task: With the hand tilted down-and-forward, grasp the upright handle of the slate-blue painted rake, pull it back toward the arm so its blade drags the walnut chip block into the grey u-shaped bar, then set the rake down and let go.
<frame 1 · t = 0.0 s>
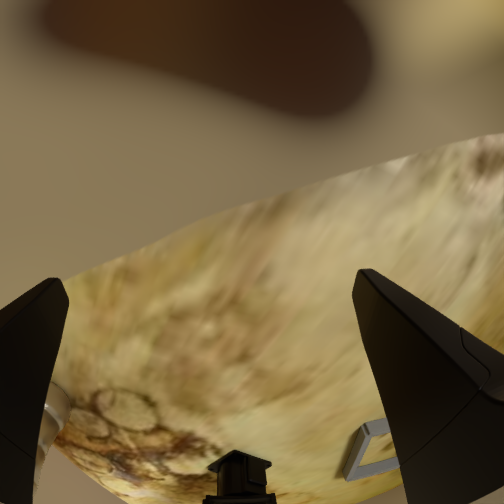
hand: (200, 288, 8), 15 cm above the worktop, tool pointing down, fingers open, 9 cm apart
plastic bottle: (54, 391, 29), on the worktop
grey u-shaped bar: (381, 444, 34), on the worktop
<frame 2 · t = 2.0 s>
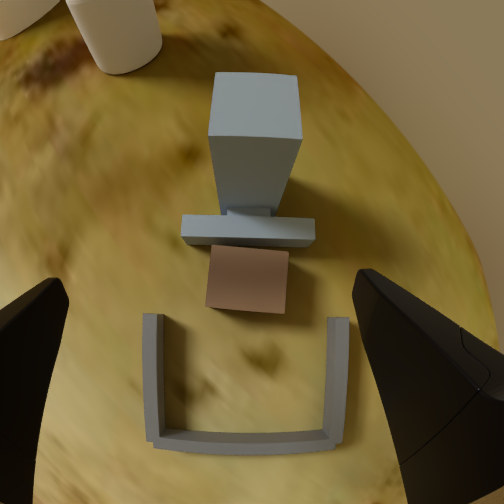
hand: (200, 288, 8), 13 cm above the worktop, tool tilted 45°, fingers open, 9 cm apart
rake: (248, 192, 23), on the worktop
pill bottle: (130, 54, 26), on the worktop
canister: (29, 14, 30), on the worktop
grey u-shaped bar: (245, 384, 20), on the worktop
chip block: (246, 283, 22), on the worktop
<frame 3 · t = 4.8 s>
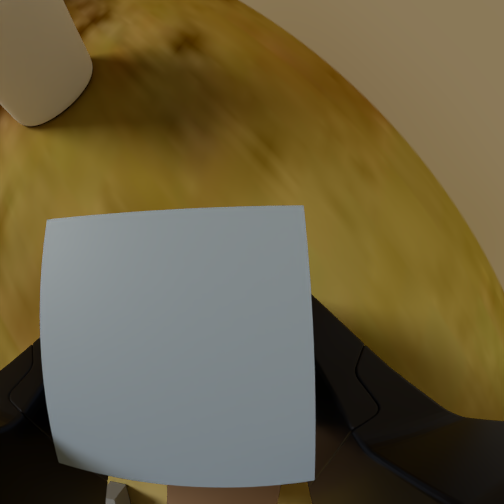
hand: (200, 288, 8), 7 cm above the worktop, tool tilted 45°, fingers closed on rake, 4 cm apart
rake: (218, 330, 14), on the worktop, touching gripper
pill bottle: (54, 92, 18), on the worktop
chip block: (226, 456, 13), on the worktop
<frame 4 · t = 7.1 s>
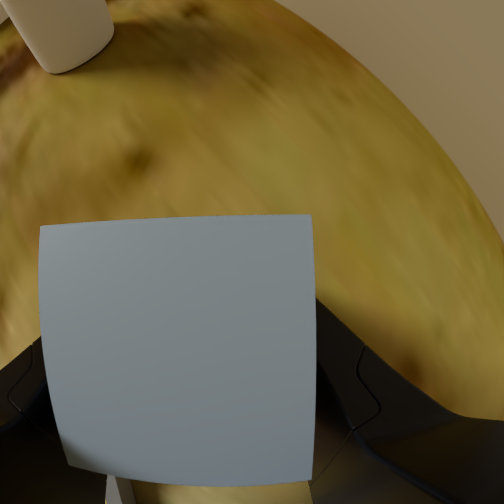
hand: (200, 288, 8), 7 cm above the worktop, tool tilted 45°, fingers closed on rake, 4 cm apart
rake: (215, 307, 15), point 1 cm above the worktop, tilted 6°, touching chip block, gripper
pill bottle: (78, 49, 20), on the worktop
grey u-shaped bar: (228, 465, 13), on the worktop
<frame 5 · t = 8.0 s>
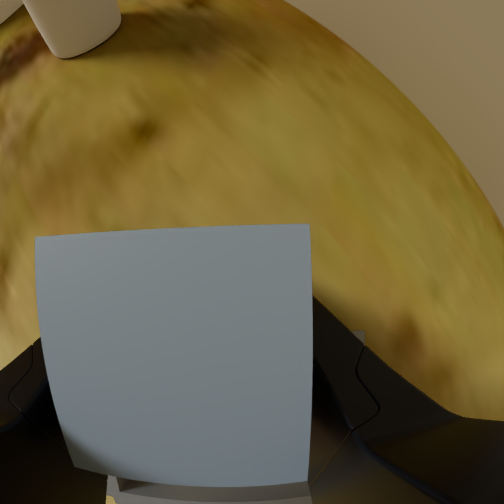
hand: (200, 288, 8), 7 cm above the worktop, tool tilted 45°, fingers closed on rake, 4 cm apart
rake: (217, 296, 15), point 1 cm above the worktop, tilted 10°, touching gripper
pill bottle: (87, 37, 21), on the worktop
grey u-shaped bar: (225, 427, 14), on the worktop
when the fingers open (7 cm above the worktop, at t = 8.9 s): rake stays where it is, on the worktop.
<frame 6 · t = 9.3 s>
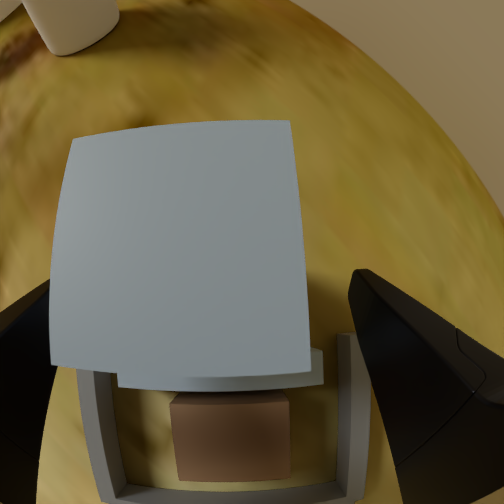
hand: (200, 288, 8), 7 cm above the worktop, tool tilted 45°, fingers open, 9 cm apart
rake: (217, 296, 15), on the worktop
pill bottle: (85, 34, 20), on the worktop
grey u-shaped bar: (224, 433, 13), on the worktop
chip block: (232, 424, 14), on the worktop
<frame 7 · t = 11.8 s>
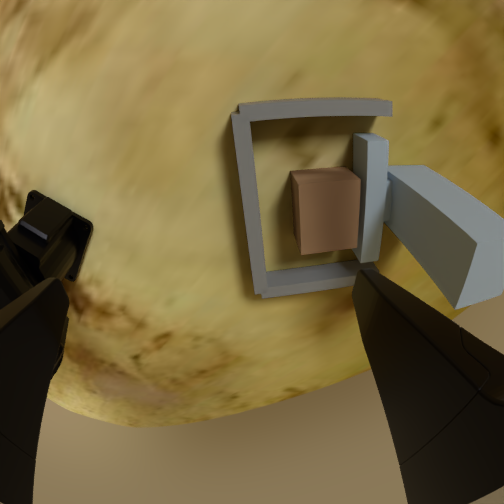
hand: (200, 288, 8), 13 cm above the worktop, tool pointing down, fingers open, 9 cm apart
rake: (401, 189, 21), on the worktop
grey u-shaped bar: (313, 196, 21), on the worktop
chip block: (318, 200, 21), on the worktop
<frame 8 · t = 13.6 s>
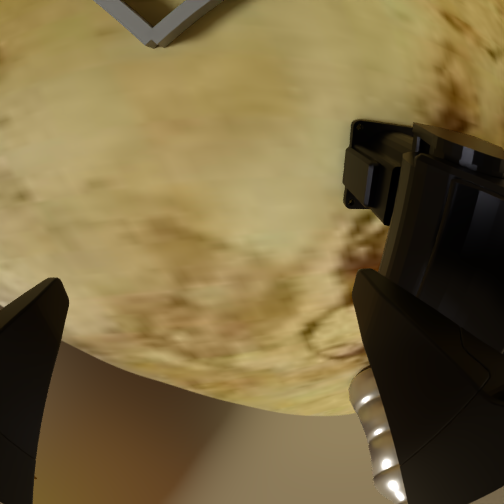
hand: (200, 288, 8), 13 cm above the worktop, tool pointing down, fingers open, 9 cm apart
plastic bottle: (368, 373, 34), on the worktop
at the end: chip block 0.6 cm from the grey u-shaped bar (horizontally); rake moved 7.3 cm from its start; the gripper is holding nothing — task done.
